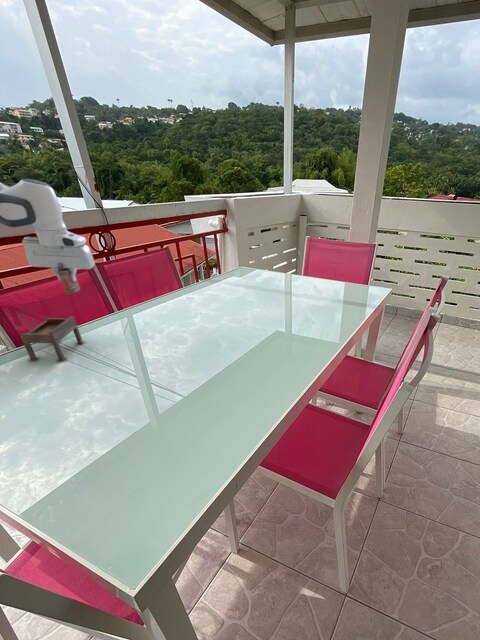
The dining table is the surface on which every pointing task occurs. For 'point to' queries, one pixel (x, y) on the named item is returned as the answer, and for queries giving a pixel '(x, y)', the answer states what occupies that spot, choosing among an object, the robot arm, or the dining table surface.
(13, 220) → the robot arm
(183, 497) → the dining table surface
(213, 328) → the dining table surface
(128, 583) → the dining table surface
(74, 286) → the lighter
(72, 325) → the stand
